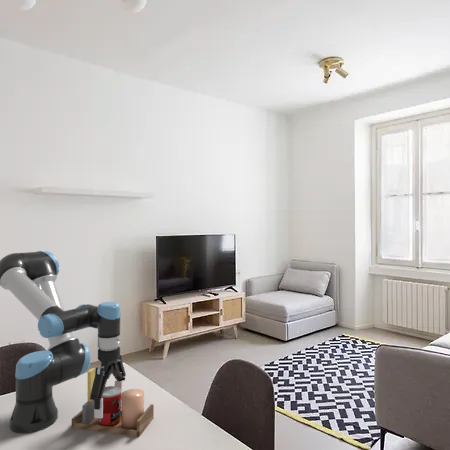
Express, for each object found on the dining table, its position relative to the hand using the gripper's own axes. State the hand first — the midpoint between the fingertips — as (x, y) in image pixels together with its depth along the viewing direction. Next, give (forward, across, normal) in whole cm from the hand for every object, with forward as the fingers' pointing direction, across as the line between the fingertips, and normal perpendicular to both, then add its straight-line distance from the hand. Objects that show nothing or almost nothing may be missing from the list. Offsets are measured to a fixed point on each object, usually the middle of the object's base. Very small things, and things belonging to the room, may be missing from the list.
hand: (109, 407), depth 132 cm
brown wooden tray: (+6, 0, -2) cm, 6 cm away
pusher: (+6, 0, +7) cm, 9 cm away
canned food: (+5, 0, 0) cm, 5 cm away
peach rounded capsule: (+5, 0, -9) cm, 10 cm away
